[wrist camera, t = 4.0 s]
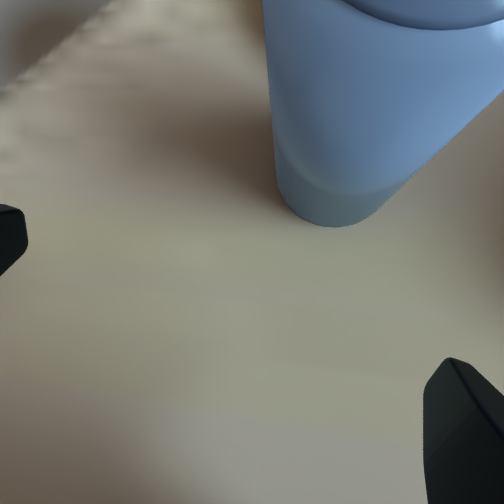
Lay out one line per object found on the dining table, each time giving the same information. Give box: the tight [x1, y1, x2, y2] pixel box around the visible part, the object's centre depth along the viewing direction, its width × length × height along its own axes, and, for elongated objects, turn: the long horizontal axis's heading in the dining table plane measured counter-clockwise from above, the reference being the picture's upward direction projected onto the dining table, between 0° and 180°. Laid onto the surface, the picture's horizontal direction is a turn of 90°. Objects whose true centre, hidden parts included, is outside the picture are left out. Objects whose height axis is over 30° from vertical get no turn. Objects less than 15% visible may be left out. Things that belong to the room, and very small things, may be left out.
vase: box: [262, 0, 504, 227], centre depth 12 cm, size 5×5×13 cm
